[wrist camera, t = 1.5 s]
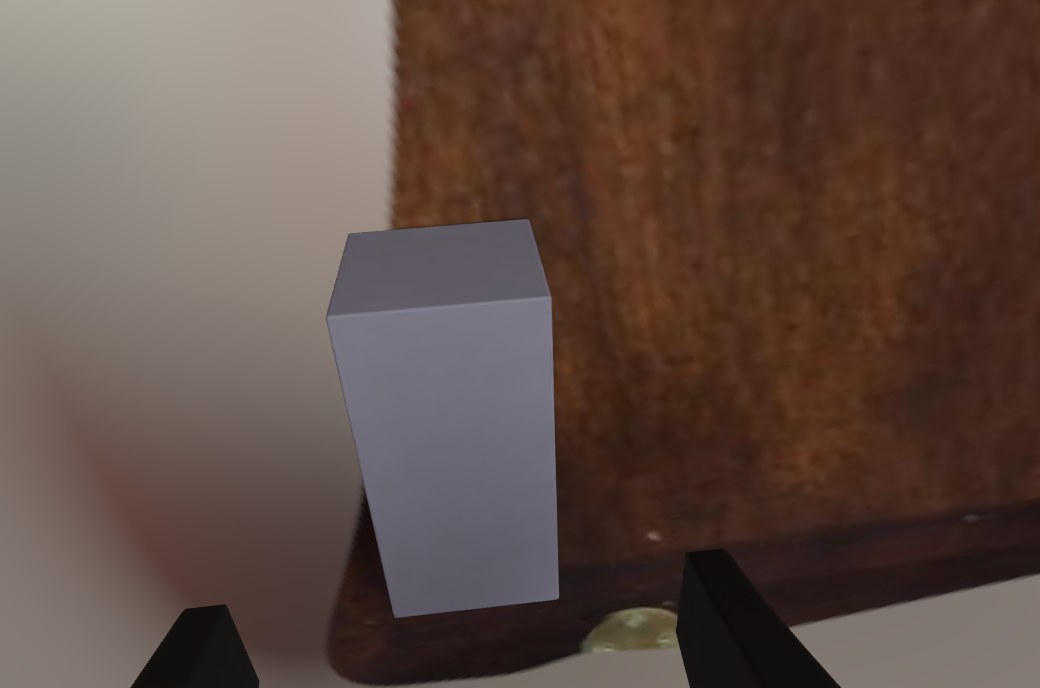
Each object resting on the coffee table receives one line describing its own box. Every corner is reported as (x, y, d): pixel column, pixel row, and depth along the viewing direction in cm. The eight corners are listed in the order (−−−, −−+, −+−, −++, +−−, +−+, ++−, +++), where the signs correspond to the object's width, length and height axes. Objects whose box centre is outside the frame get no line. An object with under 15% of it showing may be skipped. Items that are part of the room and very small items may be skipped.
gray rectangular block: (540, 492, 19) (559, 599, 16) (400, 507, 19) (394, 618, 16) (529, 217, 15) (551, 296, 12) (347, 232, 14) (324, 316, 11)
